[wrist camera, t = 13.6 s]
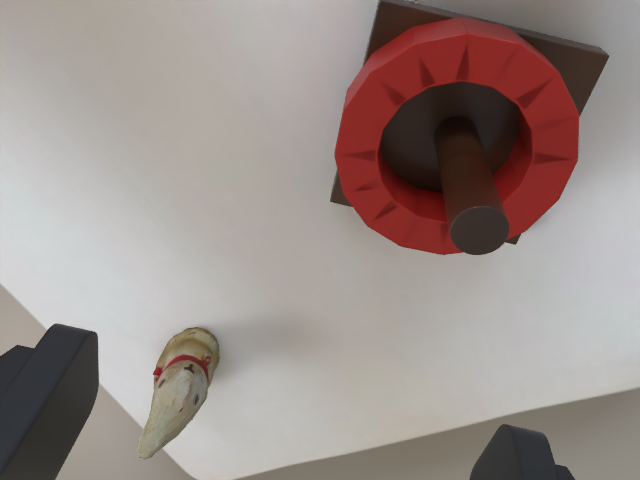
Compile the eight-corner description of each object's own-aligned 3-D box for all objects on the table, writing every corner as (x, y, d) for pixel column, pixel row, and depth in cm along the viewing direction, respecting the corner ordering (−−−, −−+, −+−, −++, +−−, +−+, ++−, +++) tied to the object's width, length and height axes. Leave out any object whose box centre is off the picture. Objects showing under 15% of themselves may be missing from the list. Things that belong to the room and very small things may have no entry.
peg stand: (331, 190, 35) (310, 306, 26) (380, -6, 29) (375, 53, 19) (511, 232, 36) (555, 362, 26) (601, 47, 29) (704, 131, 19)
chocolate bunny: (248, 359, 45) (216, 469, 37) (180, 391, 48) (136, 499, 40) (203, 315, 43) (158, 421, 34) (135, 351, 46) (78, 456, 37)
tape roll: (324, 201, 34) (318, 230, 31) (365, -3, 27) (363, 10, 25) (513, 239, 34) (524, 272, 31) (600, 45, 28) (624, 64, 25)
